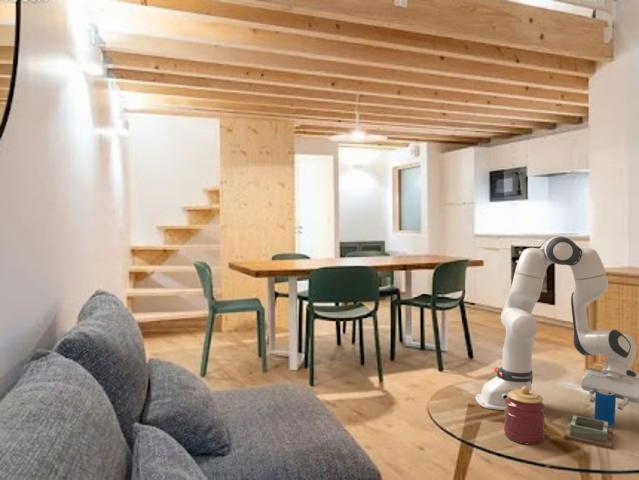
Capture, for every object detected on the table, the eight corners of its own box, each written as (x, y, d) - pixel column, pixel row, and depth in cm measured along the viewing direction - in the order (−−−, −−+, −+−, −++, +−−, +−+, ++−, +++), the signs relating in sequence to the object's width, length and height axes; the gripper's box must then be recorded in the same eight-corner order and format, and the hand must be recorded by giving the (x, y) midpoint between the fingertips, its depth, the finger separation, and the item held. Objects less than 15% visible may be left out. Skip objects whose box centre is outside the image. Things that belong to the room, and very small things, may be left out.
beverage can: (614, 429, 177) (615, 396, 177) (593, 424, 181) (595, 392, 180) (614, 422, 183) (616, 390, 182) (594, 418, 186) (596, 387, 186)
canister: (507, 425, 179) (508, 377, 178) (546, 434, 172) (548, 384, 172) (500, 439, 168) (501, 388, 167) (541, 448, 161) (543, 395, 160)
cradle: (611, 449, 162) (612, 435, 161) (564, 438, 169) (564, 425, 169) (613, 433, 173) (613, 421, 173) (568, 424, 181) (569, 412, 181)
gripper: (584, 362, 194) (573, 393, 188) (644, 375, 179) (635, 408, 173) (588, 371, 197) (577, 401, 191) (647, 384, 182) (638, 417, 176)
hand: (605, 405), depth 182 cm, fingers open, 8 cm apart
